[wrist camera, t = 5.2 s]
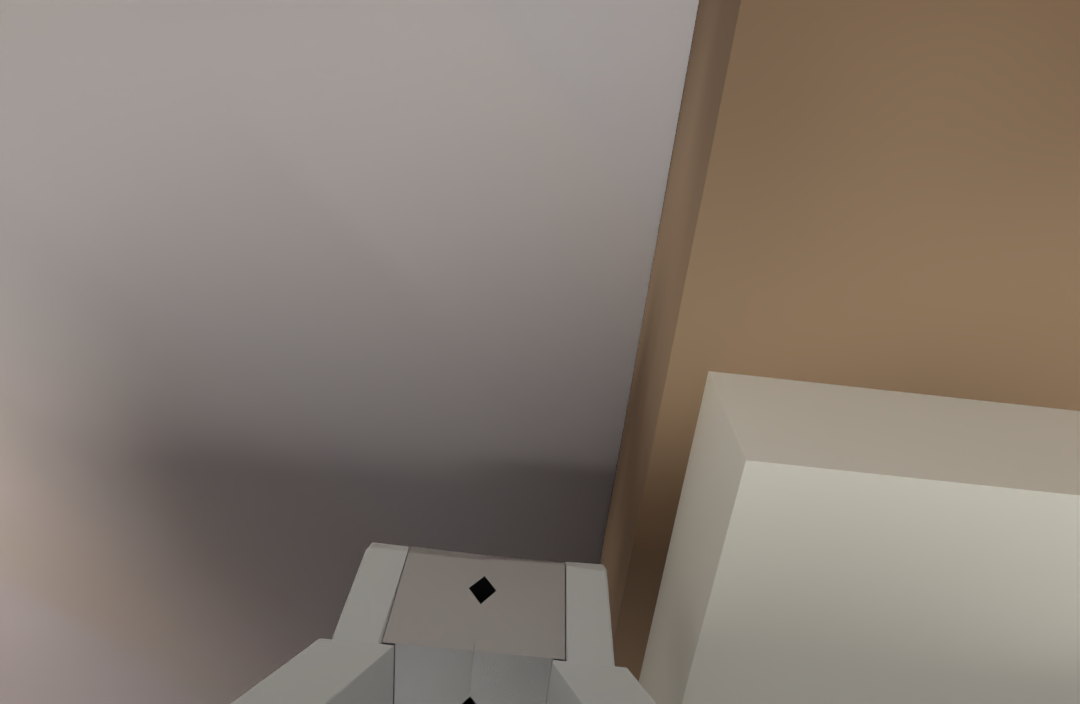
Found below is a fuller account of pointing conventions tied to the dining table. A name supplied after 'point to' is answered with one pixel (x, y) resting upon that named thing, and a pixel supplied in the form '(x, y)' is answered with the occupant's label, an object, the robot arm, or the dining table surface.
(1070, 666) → the white flat block
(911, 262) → the wooden board
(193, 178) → the dining table surface
